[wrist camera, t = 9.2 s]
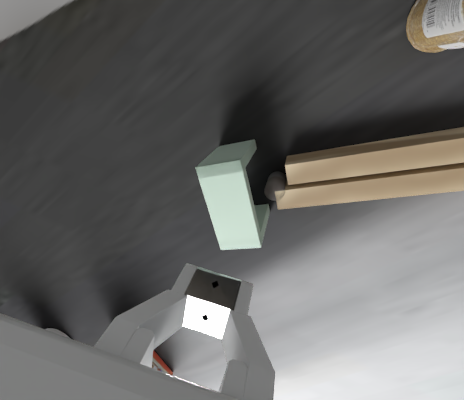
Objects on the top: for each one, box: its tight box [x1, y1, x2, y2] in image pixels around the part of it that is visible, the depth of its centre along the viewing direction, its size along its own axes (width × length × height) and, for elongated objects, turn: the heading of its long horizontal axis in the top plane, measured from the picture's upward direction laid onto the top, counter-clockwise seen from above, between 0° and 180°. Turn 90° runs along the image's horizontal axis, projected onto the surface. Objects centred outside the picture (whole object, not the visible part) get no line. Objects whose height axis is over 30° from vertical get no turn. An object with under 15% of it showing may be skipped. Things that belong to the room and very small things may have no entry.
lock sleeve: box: [195, 139, 270, 250], centre depth 26 cm, size 8×4×7 cm, turn 15°
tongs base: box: [264, 162, 464, 209], centre depth 23 cm, size 3×27×3 cm, turn 105°
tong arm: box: [285, 127, 464, 185], centre depth 22 cm, size 2×24×3 cm, turn 104°
